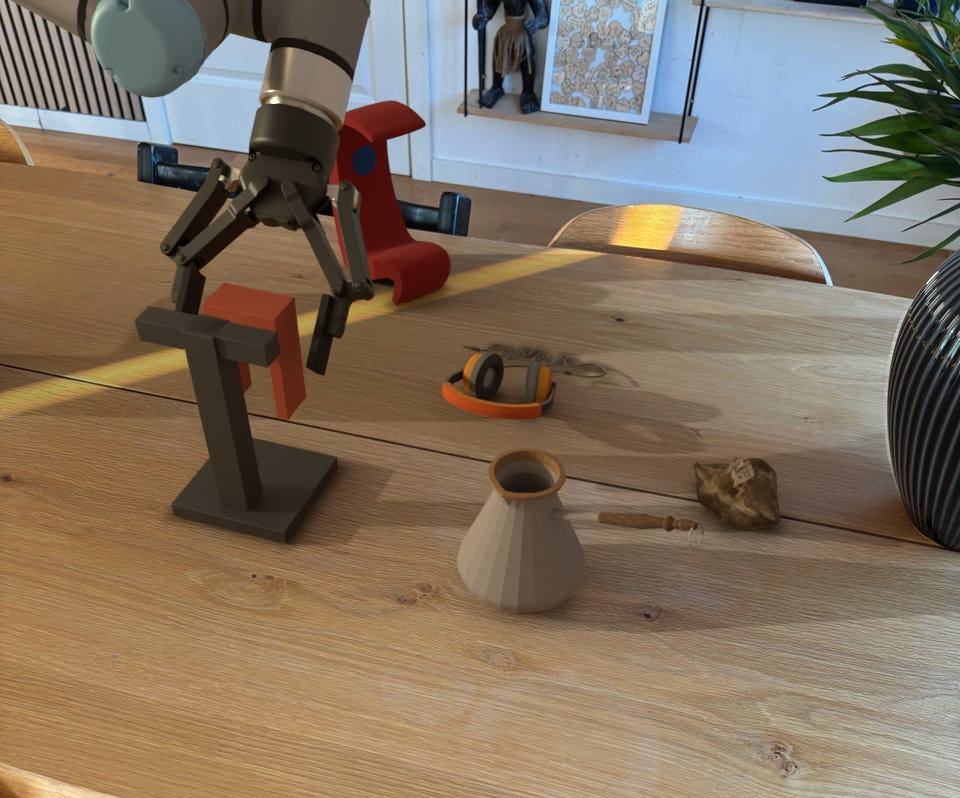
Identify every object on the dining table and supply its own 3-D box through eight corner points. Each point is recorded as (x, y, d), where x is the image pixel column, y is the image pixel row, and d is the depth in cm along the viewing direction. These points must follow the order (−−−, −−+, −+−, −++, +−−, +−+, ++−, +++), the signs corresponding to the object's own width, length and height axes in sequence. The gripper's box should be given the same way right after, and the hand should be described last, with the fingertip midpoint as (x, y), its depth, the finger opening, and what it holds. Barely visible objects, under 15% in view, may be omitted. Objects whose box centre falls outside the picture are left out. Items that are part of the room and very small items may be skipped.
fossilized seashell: (669, 468, 100) (713, 546, 95) (716, 420, 96) (764, 498, 91) (717, 482, 105) (761, 557, 100) (764, 437, 101) (812, 512, 96)
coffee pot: (431, 593, 91) (427, 460, 80) (503, 524, 98) (508, 392, 87) (639, 702, 83) (667, 570, 72) (702, 619, 90) (737, 486, 79)
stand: (173, 516, 98) (122, 330, 83) (235, 441, 106) (198, 259, 91) (286, 544, 95) (254, 358, 81) (340, 465, 103) (320, 283, 88)
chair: (336, 265, 131) (320, 100, 116) (382, 248, 134) (373, 85, 119) (404, 313, 123) (397, 143, 108) (452, 294, 126) (451, 126, 111)
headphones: (616, 343, 114) (564, 403, 99) (608, 388, 117) (557, 453, 102) (477, 314, 118) (407, 366, 103) (473, 358, 121) (404, 415, 106)
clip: (221, 404, 97) (201, 303, 89) (241, 382, 99) (223, 282, 91) (288, 420, 95) (274, 319, 87) (306, 397, 98) (294, 297, 90)
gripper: (442, 160, 91) (387, 393, 93) (195, 119, 96) (147, 341, 98) (419, 120, 84) (359, 374, 85) (153, 79, 89) (102, 319, 91)
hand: (246, 357), depth 92 cm, fingers open, 13 cm apart
